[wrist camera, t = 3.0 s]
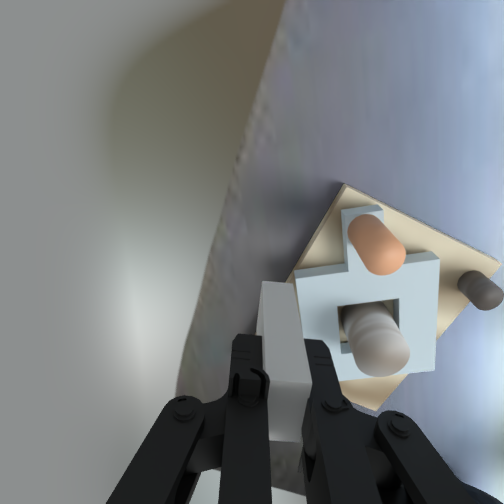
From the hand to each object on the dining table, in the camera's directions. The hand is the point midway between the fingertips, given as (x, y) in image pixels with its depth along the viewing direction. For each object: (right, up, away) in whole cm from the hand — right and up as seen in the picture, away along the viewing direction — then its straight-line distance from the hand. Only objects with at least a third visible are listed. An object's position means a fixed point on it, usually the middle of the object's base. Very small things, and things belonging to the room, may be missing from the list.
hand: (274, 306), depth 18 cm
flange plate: (+9, -1, +15) cm, 18 cm away
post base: (+10, -3, +18) cm, 20 cm away
